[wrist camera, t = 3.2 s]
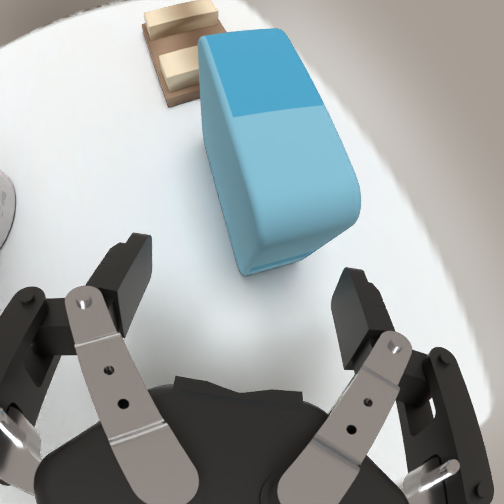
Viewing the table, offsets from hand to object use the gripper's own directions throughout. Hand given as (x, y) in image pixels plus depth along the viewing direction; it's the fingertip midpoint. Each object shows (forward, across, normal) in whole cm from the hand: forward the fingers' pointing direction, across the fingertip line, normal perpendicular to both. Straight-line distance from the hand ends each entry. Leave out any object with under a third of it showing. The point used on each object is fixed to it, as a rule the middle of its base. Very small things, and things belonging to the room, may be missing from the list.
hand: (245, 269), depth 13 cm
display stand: (+23, +8, -9) cm, 26 cm away
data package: (+12, 0, +2) cm, 12 cm away
